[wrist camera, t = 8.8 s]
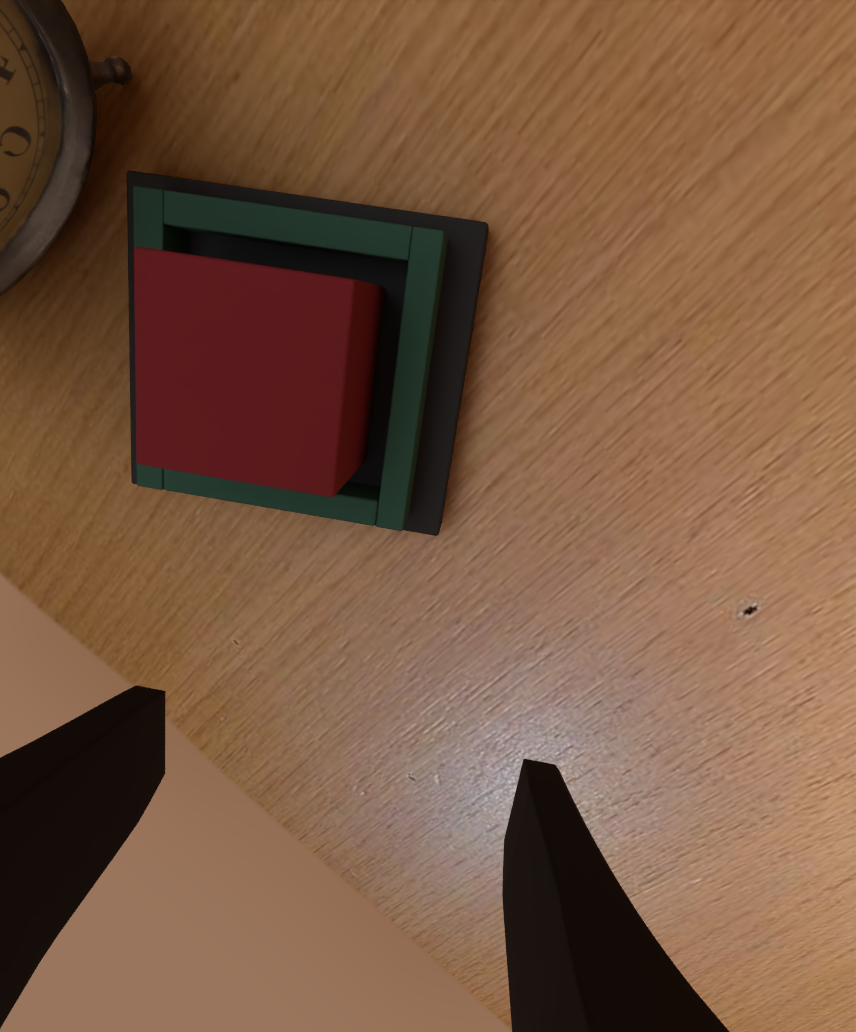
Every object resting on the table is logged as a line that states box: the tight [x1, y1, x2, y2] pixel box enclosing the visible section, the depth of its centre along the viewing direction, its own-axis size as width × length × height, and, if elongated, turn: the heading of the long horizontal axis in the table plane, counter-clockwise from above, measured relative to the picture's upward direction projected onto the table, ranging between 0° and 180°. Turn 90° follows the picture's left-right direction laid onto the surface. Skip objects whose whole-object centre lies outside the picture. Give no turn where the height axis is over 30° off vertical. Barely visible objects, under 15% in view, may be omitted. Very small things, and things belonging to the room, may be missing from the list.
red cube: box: [134, 246, 385, 497], centre depth 16 cm, size 5×5×4 cm
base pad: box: [127, 171, 488, 536], centre depth 18 cm, size 10×9×3 cm
